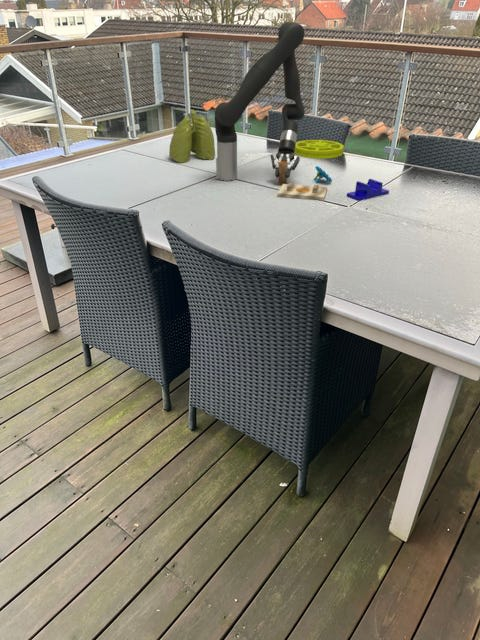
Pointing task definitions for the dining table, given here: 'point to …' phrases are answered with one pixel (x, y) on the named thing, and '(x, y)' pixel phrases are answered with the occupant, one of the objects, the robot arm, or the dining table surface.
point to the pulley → (318, 149)
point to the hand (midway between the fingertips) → (281, 176)
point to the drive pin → (282, 173)
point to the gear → (321, 175)
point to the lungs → (192, 139)
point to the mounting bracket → (367, 190)
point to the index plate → (302, 191)
